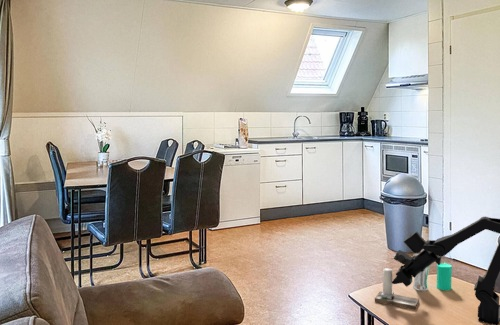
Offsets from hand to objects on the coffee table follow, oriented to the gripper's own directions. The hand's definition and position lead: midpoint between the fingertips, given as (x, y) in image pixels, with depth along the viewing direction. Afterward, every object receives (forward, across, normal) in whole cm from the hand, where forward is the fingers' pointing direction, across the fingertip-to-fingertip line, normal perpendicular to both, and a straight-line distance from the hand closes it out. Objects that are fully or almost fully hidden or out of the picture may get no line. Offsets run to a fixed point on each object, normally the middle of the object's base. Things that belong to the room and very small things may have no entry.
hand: (392, 283), depth 176 cm
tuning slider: (+6, 0, +3) cm, 6 cm away
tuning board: (+4, 0, +7) cm, 8 cm away
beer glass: (0, -19, +11) cm, 22 cm away
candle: (-6, -25, +17) cm, 31 cm away
